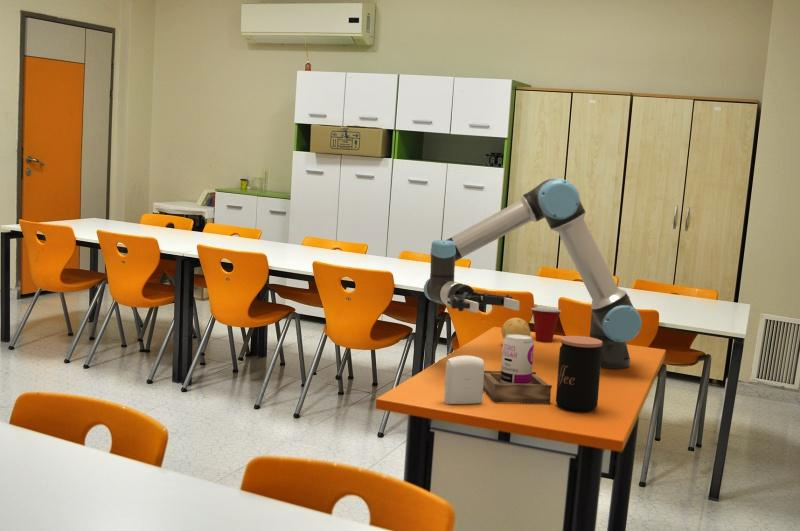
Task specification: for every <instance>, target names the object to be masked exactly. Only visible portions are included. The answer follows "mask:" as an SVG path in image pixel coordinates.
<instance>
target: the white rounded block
mask: <svg viewBox="0 0 800 531" xmlns="http://www.w3.org/2000/svg"><path fill="white" fill-rule="evenodd" d="M484 362H485V361H484V359H482V358H481V357H478V356H474V355H457V356H454V357H451V358H448V359H447V360H446V363H445V379H444V394H443V395H444V397H443V398H444V399H443V401H444V403H445V404H446V405H464V404H465V405H466V404H482V403H483V398H484V396H483V394H484V390H483V381H484V371H485V363H484Z"/></svg>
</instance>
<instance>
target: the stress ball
mask: <svg viewBox="0 0 800 531" xmlns="http://www.w3.org/2000/svg"><path fill="white" fill-rule="evenodd" d="M508 334H521V335H527V336H531V328H530V325H529V323H527V321H526V320H524V319H522V318H521V317H512V318H509V319H507V320H506V321H505V322H504V323H503V325H502V327H501V336H502V339H503V340H504V339H505V337H506V335H508Z"/></svg>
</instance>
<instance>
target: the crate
mask: <svg viewBox="0 0 800 531" xmlns="http://www.w3.org/2000/svg"><path fill="white" fill-rule="evenodd" d="M500 380H501V370H484V381H483V392H484V393H485V392H486V395H487V396H488V397H489V399H490V400H491V401H492V402H493V401H494V402H520V403H519V404H541V403H544V405H545V403H546V404H547V405H548V404H549V405H550V404H551V393H552V388H553V385H552V384H548V383H547V382H546V381H545V380H543V378H541V377H540V376H539V375H537V372H536V371H532V379H531V384H500ZM494 402H493V403H494ZM521 402H522V403H521Z"/></svg>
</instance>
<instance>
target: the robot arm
mask: <svg viewBox="0 0 800 531" xmlns="http://www.w3.org/2000/svg"><path fill="white" fill-rule="evenodd" d="M585 215H586V210H585V208H584V206H583V204H582V202H581V198H580V193H579V191H578V189H577V188H576V186H575V185H574V184H573V183H571V182H570V181H569V180H566V179H563V178H549V179H547V180H544V181H542V182H541V183H540V184H538V185H537V186H535V187H534V188H532V189H531V190H530V191H528V192H526V193H524V194H522V195H521V197H520V199H519V200H518V201H516V202H514V203H511V204H510V205H508V206H507V207H505V208H503V209H501V210H499V211H497V212H495V213H494V214H492V215H490V216H488V217H486V218H484V219H483V220H481V221H479V222H477V223H474V224H473V225H471V226H469V227H467V228H466V229H463V230H462V231H460V232H458V233H456V234H454V235H453V236H451V237H450V238H447V239H446V240H445V239H436V240H433V241H432V242H431V247H430V272H429V273H430V274H429V278H428V279H427V280H426V282H425V283H424V285H423V294H424V296H425V297H426V298H427V299H428V300H430V301H432V302H433V303H436V304H441V305H443V306H444V305H445V306H448V307H450V309H453V310H455V309H457V310H458V312H463V311H465V310H466V311H468V312H472V313H475V314H478V313H479V310H480V309H479V306H481V307H482V306H483V307H485V306H486V305H489V306H498V307H499V306H501V307H504V308H506V309H509V310H513V311H520V300H517V299H513V296H510V295H509V294H506V295H501V294H500V295H498V294H490V293H487V292H484V293H480V292H477V291H475V290H474V289H473V287H472V286H471V285H468V284H464V283H460V282H456V281H455V267H456V266H455V265H456V262H457V261H459V260H460V259H462V258H465V256H469V255H470V254H471V253H474V252H475V251H478V250H479V249H481V248H483V247H485V246H487V245H488V244H490V243H493V242H495V241H497V240H498V239H500V238H502V237H505V236H506V235H508V234H509V233H511V232H514V231H515V230H517V229H518V228H519V229H520V228H521V227H523V226H525V225H526V224H529V223H530V222H534V223H537V222H539V221H541V220H543V219H545V221H546V222H547V224H548V227H549V229H550V230H551V231H555V232H557V233H558V235H559V237H560V239H561V241H562V243H563V244H564V246H565V248H566V250H567V253H568V255H569V257H570V259H571V260H572V263H573V264H574V267H575V269H576V270H577V272H578V274H579V277H580V278H581V280H582V282H583V284H584V286H585V288H586V290H587V292H588V294H589V296H590V299H591V300H592V301H591V306H590V309H591V313H590V314H591V316H590V325H589V326H590V328H589V329H590V330H589V337H591V338H595V339H599V340H601V341H602V342H603V343H602V346H601V347H600V349H601V351H602V356H601V368H605V369H627V368H629V367H630V366H631V357H630V353H629V348H628V344H627V342H629V341H632V340H633V339H635V338H636V337H637V336H638V335H639V333H640V332H641V329H642V317H641V314H640V312H639V311H638V310H637V309H636V308H635V307H634V305H633V303H632V302H631V298H630V295H628V293H627V291H626V290H624V289H622V288H619V287H618V285H617V283H616V281H615V279H614V276H613V275H612V273H611V271H610V269H609V267H608V264H607V263H606V261H605V259H604V256H603V255H602V253H601V251H600V249H599V247H598V244H597V243H596V241H595V239H594V237H593V235H592V233H591V231H590V229H589V227H588V226H587V223H586V221H585ZM481 301H482V302H481Z"/></svg>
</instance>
